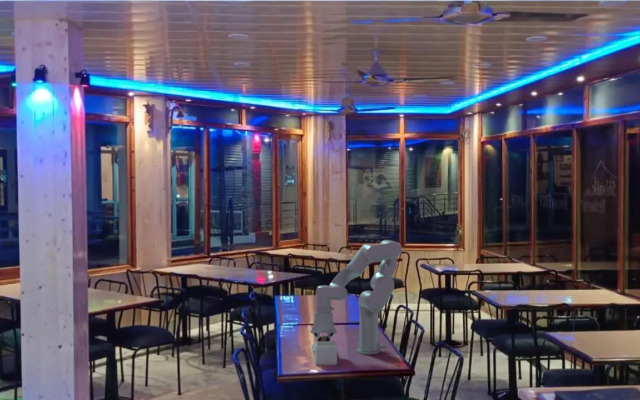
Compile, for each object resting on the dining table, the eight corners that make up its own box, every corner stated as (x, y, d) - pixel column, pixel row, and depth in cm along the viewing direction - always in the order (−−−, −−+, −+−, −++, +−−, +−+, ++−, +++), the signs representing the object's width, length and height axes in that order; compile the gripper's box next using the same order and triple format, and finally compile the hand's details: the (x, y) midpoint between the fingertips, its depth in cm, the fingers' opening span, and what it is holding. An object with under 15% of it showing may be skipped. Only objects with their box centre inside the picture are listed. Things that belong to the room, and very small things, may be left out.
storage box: (334, 359, 303) (335, 341, 303) (336, 365, 293) (337, 346, 293) (314, 359, 303) (314, 341, 302) (316, 365, 293) (316, 346, 292)
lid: (333, 346, 318) (333, 333, 318) (336, 352, 307) (336, 339, 306) (311, 346, 317) (311, 334, 317) (313, 352, 306) (313, 339, 306)
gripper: (339, 308, 316) (338, 343, 316) (307, 308, 315) (307, 344, 315) (340, 311, 308) (340, 347, 309) (308, 311, 307) (307, 347, 308)
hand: (323, 345), depth 312 cm, fingers closed on lid, 3 cm apart
